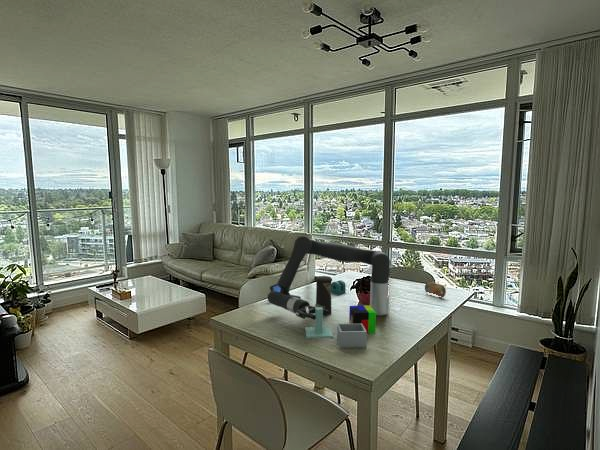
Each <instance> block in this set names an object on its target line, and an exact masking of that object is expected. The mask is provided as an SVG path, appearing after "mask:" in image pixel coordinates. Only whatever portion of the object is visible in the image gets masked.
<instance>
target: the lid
mask: <svg viewBox="0 0 600 450" xmlns="http://www.w3.org/2000/svg"><path fill="white" fill-rule="evenodd" d="M314 315H316V319H315V320H314V326H312V327H311V326H307V327H306V326H305V327H304V331H305V332H304V333H305V338H307V339H319V338H320V339H325V338H327V339H330V338H331V339H332V338H334V334H333V331H332V327H330V326H324V325H323V324H324V323H323V320H324V316H323V308H322V307H315V314H314Z"/></svg>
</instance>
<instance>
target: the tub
mask: <svg viewBox="0 0 600 450" xmlns="http://www.w3.org/2000/svg"><path fill="white" fill-rule="evenodd" d="M336 325H337V327H336V340H337V342H338V343H337V344H338V346H339V348H340V349H366V348H367V340H368V339H367V337H368V335H367V331H366V330H365V328H364V326H363V324H362V323H361V324H349V323H336Z"/></svg>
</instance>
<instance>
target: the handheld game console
mask: <svg viewBox="0 0 600 450" xmlns="http://www.w3.org/2000/svg"><path fill="white" fill-rule="evenodd" d="M269 289H270V292H271V291H278V292H280V289H281V288H280V287H279V286H278V285H277V283H276V284H273V285H271V286H269ZM288 296H292V297H295V298H299V299H302V297H301V296H299V295H294V294H291V293H290V292H289V294H288Z"/></svg>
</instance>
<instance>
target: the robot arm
mask: <svg viewBox="0 0 600 450" xmlns="http://www.w3.org/2000/svg"><path fill="white" fill-rule="evenodd" d="M293 243H294V245H293V249H292V251H291V254H290V257H289V259H288V261H287V263H286V265H285V267H284V269H283V270H282V272H281V274H280V276H279V278H278V281H277V283H276V284H277V285H278V286H279V287H280V288H281V289H280V292H278V291H271V290H270V292H269V293H268V294H267V297H266V298H267V301H268V303H270V305H271V304H272V305H274V306H277V307H281V308H282V309H284V310H287V311H288V312H291V313H293V314H295V316H296V317H299V318H301V319H304V320H305V319H311V320H313V321H315V319H316V315H315V307H322V308H323V314H325V315H326V316H330V315H329V311H328V310H325V306H321V305H318V304H316V303H315V304H314V305H311V304H310V302H309V301H308V300H304V299H302V298H300V299H299V298H295V297H292V296H288V294H289V293H290V289H291V286H292V284H293V282H294V280H295V277H296V276H297V272H298V270H299V267H300V265H301V262H302V261H303V260H304V257H305V256H306V255H317V256H320V257H324V258H326V259H329V260H334V261H339V262H343V263H362V264H365V265H366V264H367V265H369V266H372V267H371V275H370V292H369V294H370V295H369V305H370V306H371V307H372V309H373V310H374V311H375V312H376V316H385V315H389V313H390V312H389V309H390V307H389V305H390V296H388V295H389V279H390V271H391V270H390V268H391V259H390V256H388V255H387V254H386V253H385V252H384V251H381V250H371V249H364V248H359V247H356V246H352V245H348V244H343V243H338V242H328V241H327V242H322V241H318V240H314V239H311V238H310V237H308V236H306V235H300V236H298V237H297V238H296V239H295V240H294V242H293Z"/></svg>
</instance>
